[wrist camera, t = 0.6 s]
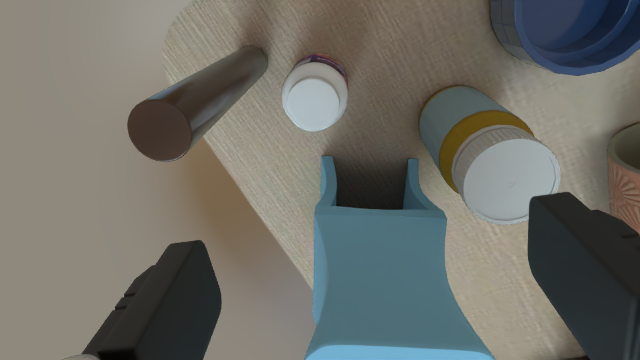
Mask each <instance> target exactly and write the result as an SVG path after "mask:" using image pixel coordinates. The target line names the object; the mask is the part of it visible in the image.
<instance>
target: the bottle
mask: <svg viewBox="0 0 640 360" xmlns="http://www.w3.org/2000/svg"><path fill="white" fill-rule="evenodd" d="M419 133H420V135H421V138H422V140H423V143H424V144H425V146H426V148H427V150H428V152H429V153H430V155H431V157H432V159H433V160H434V162H435V164H436V166H437V168H438V169H439V171H440V173H441V175H442V176H443V178H444V180H445V181H446V183H447V184H448V185H449V186H450V187H451V188H452V189H453V190H454V191H455V192H456V193H458V194H460V196H461V197H462V199H463V201H464V202H465V204H466V206H467V207H468V208H469V210H471V212H472V213H474V214H475V215H476V216H478V217H479V218H480V219H482V220H484V221H487V222H490V223H494V224H501V225H508V224H515V223H520V222H523V221H525V220H528V219H529V203H530V200H531V198H532V197H533V196H540V195H548V194H555V193H556V192H557V190H558V187H559V184H560V167H559V163H558V161H557V159H556V157H555V156H554V153H553V152H551V150H550V149H549V148H548V147H547V146H546V145H545V144H543V143H542V142H540V141H539V140H538V139H536V138H535V137H534V135H533V133H532V131H531V130H530V128H529V127H528V126H527V125H526V124H525V123H524V122H523V121H522V120H521V119H520V118H518V117H517V116H515V115H514V114H512V113H511V112H509V111H508V110H507V109H505V108H504V107H502V106H501V105H499V104H498V103H496V102H495V101H493V100H492V99H491V98H489V97H488V96H486V95H485V94H483V93H482V92H480V91H478V90H476V89H474V88H472V87H467V86H460V85H459V86H451V87H447V88H445V89H443V90H441V91H439V92H437V93H436V94H435V95H433V96H432V97H431V98H430V99H429V100H428V101H427V102H426V104H425V105H424V107H423V109H422V111H421V114H420V117H419Z"/></svg>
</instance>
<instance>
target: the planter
mask: <svg viewBox="0 0 640 360" xmlns="http://www.w3.org/2000/svg"><path fill="white" fill-rule="evenodd" d="M607 152H608V180H609V199H610V211H611V216H614V217H616V218H619V219H621V220H623V221H624V222H625V223H626V224H628V225H629V226H630V227H631V228H633V229H634V230H635V231H636V232H638V233H639V236H640V123H638V124H635V125H633V126H630V127H628V128H626V129H624V130H622V131H620V132H619V133H617V134H616V135H615V136H614V137H613V138H612V139H611V140H610V142H609V144H608V148H607Z"/></svg>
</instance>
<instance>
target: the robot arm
mask: <svg viewBox="0 0 640 360" xmlns="http://www.w3.org/2000/svg"><path fill="white" fill-rule="evenodd" d="M528 260H529V265H530V269H531V272H532V274H533V276H534V278H535V280H536V281H537V283H538V284H539V286H540V287H541V289H542V290H543V292H544V293H545V295H546V296H547V298H548V299H549V300H550V302H551V303H552V305H553V306H554V308H555V309H556V311H557V312H558V314H559V315H560V316H561V318H562V319H563V321H564V322H565V324H566V325H567V327H568V328H569V330H570V331H571V332H572V334H573V335H574V337H575V338H576V340H577V341H578V343H579V344H580V346H581V347H582V348H583V350H584V351H585V353H586V354H587V356H588V357H589V359H590V360H640V236H639V233H638V232H636V231H635V230H634V229H633V228H631V227H630V226H629V225H628V224H626V223H625V222H624V221H623V220H621V219H619V218H616V217H614V216H611V215H609V214H607V213H604V212H602V211H600V210H590V209H589V208H587V207H586V206H585V205H584V204H583V203H582V202H580V201H579V200H578V199H577V198H576V197H575V196H573V195H572V194H571V193H569V192H563V193H555V194H548V195H540V196H533V197H532V198H531V200H530V203H529V223H528ZM220 311H221V292H220V288H219V285H218V282H217V279H216V276H215V273H214V270H213V267H212V264H211V261H210V258H209V255H208V252H207V249H206V247H205V245H204V243H203V242H202V241H200V240H196V241H189V242H181V243H174V244H170V245H169V246H168V247H167V249H166V250H165V251H164V253H163V255H162V256H161V257H160V259H159V260H158V262H157V263H156V265H153V266H151V267H150V268H148V269H147V270H146V271H145V272H143V273H142V274H141V275H140V276H139V277H137V278H136V279H135V280H134V281H133V283H132V284H131V286H130V287H129V288H128V290H127V291H126V293H125V294H124V297H123V298H121V300H120V301H119V302H118V304H117V305H116V306H115V310H113V311H112V312H111V313H110V315H109V316H108V318H107V319H106V320H105V322H104V323H103V325H102V326H101V327H100V329H99V330H98V332H97V333H96V334H95V336H94V337H93V338H92V340H91V341H90V343H89V344H88V345H87V347H86V348H85V350H84V351H83V353H82V354H81V355H75V356H71V357H68V358H66V359H63V360H203V358H204V355H205V352H206V350H207V347H208V344H209V341H210V339H211V336H212V334H213V331H214V328H215V326H216V323H217V320H218V318H219V315H220Z"/></svg>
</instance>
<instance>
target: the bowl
mask: <svg viewBox="0 0 640 360" xmlns="http://www.w3.org/2000/svg"><path fill="white" fill-rule="evenodd" d="M490 4H491V22H492V25H493V28H494V30H495V33H496V35H497V38H498V40H499V42H500V43H501V44H502V45H503V46H504V47H505V48H506V50H507V51H508V52H509V53H510V54H511V55H513V56H515V57H517V58H519V59H521V60H523V61H525V62H527V63H529V64H532V65H535V66H537V67H540V68H543V69H546V70H548V71H551V72H554V73H558V74H567V75H575V76H578V75H579V76H580V75H585V74H590V73H596V72H601V71H604V70H606V69H608V68H610V67H612V66H614V65H616V64H618V63H620V62H622V61H624V60H626V59H627V58H629V57H630V56H631V55H632V54H633V53H635V52H636V51H637V50H638V49H639V48H640V0H491V1H490Z"/></svg>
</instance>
